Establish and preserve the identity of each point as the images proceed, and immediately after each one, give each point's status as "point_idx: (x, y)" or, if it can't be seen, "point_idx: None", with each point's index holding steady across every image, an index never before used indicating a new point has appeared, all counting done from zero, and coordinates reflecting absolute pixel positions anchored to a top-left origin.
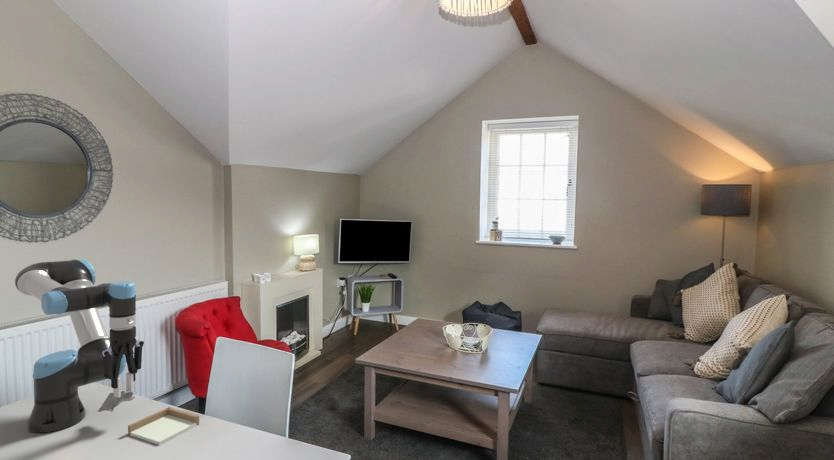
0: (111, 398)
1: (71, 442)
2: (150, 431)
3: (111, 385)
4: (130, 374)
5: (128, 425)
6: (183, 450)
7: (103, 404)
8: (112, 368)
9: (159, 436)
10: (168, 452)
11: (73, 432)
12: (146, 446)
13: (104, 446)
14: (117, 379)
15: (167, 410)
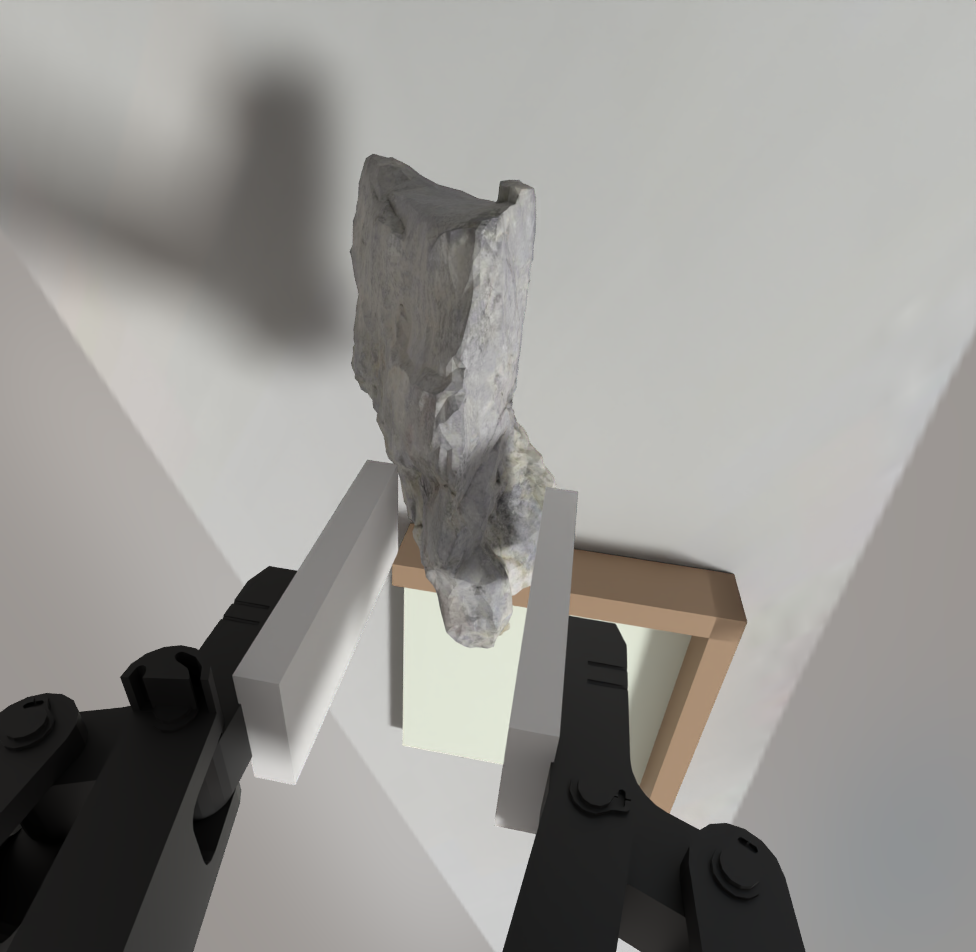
0: (400, 366)
1: (146, 242)
2: (463, 650)
3: (237, 603)
4: (497, 809)
5: (395, 565)
6: (421, 822)
7: (372, 246)
8: (34, 944)
9: (442, 718)
10: (382, 787)
11: (218, 59)
12: (370, 689)
13: (254, 505)
14: (257, 745)
15: (702, 630)
